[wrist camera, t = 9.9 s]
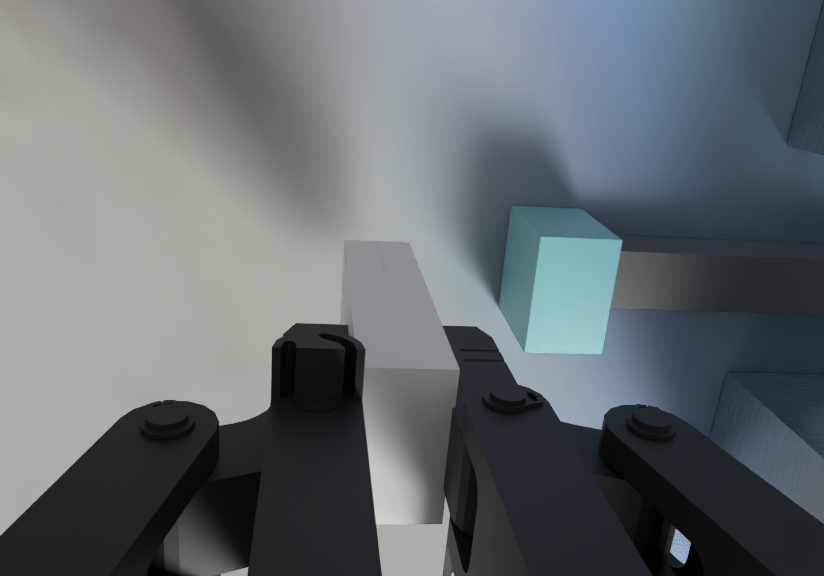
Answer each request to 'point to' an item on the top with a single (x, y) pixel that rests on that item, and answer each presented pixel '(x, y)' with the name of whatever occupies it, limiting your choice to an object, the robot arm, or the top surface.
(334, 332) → the robot arm
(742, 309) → the teal and grey bar
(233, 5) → the top surface
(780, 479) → the grey bridge block
